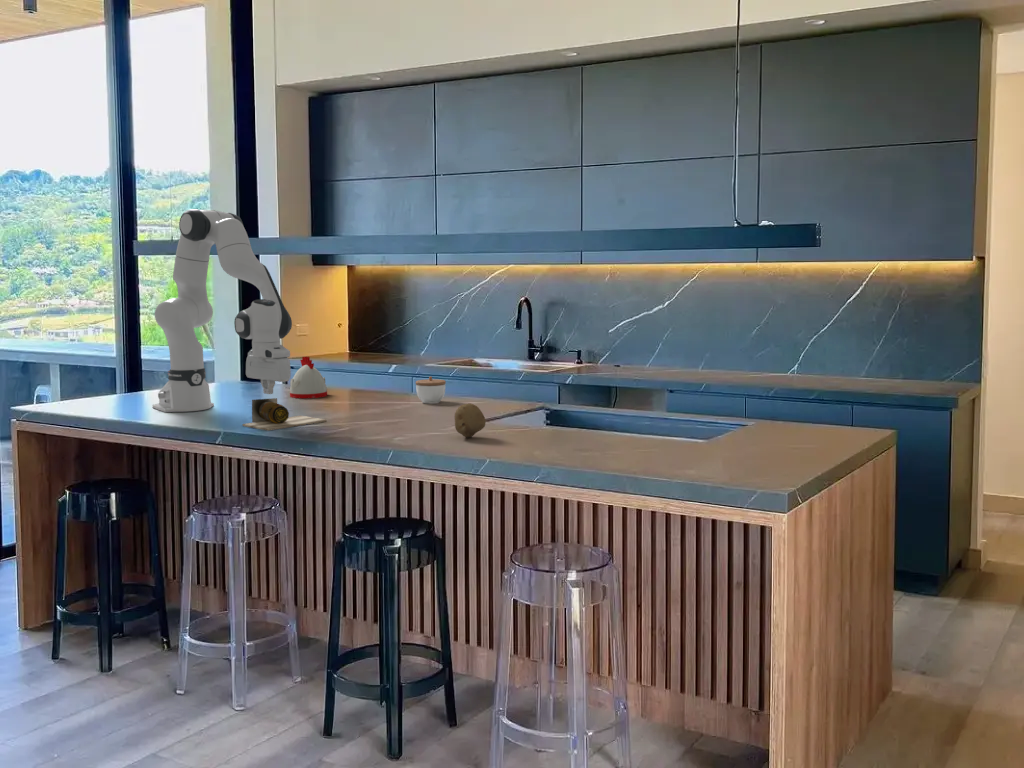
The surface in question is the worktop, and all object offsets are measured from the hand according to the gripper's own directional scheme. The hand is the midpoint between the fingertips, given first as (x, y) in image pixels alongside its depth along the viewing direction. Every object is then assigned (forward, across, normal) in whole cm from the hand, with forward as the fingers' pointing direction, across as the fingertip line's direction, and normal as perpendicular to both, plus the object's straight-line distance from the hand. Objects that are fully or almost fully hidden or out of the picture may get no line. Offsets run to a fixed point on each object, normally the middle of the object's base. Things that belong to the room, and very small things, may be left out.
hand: (268, 393), depth 334 cm
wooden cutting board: (+9, +7, +1) cm, 12 cm away
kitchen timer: (+9, -41, +45) cm, 62 cm away
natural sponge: (+9, +71, +21) cm, 74 cm away
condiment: (+5, -2, -1) cm, 6 cm away
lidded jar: (+9, +9, +62) cm, 63 cm away
